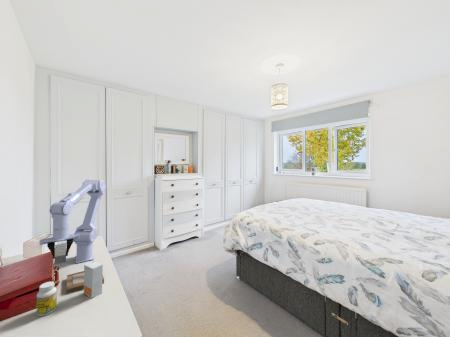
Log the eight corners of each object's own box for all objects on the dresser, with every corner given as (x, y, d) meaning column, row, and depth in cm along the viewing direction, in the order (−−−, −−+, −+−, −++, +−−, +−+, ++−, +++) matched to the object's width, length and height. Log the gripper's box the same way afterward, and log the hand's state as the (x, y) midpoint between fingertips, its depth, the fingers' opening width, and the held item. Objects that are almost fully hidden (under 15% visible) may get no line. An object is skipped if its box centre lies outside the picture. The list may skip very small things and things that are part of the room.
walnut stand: (66, 279, 91) (66, 274, 91) (100, 270, 99) (100, 266, 99) (66, 294, 81) (66, 289, 81) (103, 283, 89) (103, 278, 89)
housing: (55, 259, 95) (55, 244, 95) (66, 257, 97) (66, 242, 97) (54, 264, 90) (54, 249, 90) (65, 262, 93) (66, 247, 93)
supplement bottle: (59, 304, 75) (60, 279, 75) (50, 315, 70) (51, 288, 69) (42, 306, 74) (43, 280, 73) (32, 317, 68) (32, 289, 68)
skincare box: (83, 294, 81) (83, 264, 81) (94, 288, 85) (94, 260, 85) (91, 299, 78) (92, 268, 78) (102, 293, 82) (103, 264, 82)
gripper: (38, 233, 86) (38, 264, 86) (80, 227, 95) (79, 255, 95) (40, 228, 91) (40, 258, 92) (79, 223, 100) (79, 250, 101)
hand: (60, 256), depth 94 cm, fingers closed on housing, 4 cm apart
